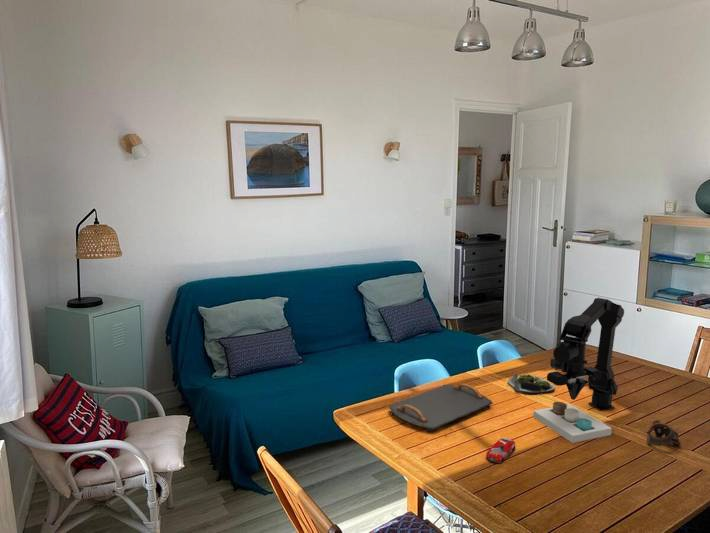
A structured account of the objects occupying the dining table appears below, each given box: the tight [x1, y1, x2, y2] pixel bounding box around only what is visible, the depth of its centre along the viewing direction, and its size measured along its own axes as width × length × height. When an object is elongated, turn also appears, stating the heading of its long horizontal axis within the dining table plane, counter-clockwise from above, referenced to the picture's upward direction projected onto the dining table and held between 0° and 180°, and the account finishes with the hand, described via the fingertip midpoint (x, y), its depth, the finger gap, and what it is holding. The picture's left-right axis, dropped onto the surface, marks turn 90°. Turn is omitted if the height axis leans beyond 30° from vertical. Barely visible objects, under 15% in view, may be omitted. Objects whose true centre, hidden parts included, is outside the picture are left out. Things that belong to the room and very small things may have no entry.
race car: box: [485, 437, 516, 464], centre depth 166 cm, size 13×5×4 cm, turn 139°
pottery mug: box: [646, 419, 682, 448], centre depth 173 cm, size 12×10×8 cm
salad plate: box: [507, 373, 556, 396], centre depth 221 cm, size 19×18×5 cm
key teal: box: [576, 418, 592, 431], centre depth 179 cm, size 5×5×3 cm
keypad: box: [532, 403, 613, 444], centre depth 185 cm, size 16×20×2 cm
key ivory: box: [564, 408, 579, 423], centre depth 185 cm, size 5×5×3 cm
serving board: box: [388, 383, 493, 434], centre depth 198 cm, size 39×23×6 cm, turn 129°
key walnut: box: [552, 401, 568, 416], centre depth 190 cm, size 5×5×3 cm
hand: (572, 399), depth 184 cm, fingers closed
